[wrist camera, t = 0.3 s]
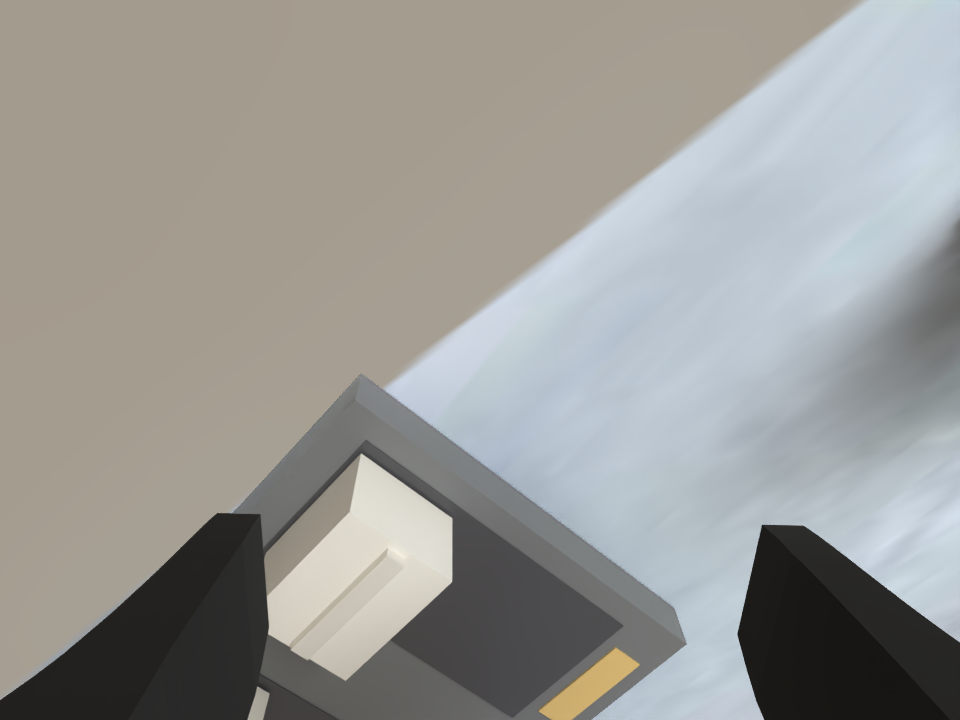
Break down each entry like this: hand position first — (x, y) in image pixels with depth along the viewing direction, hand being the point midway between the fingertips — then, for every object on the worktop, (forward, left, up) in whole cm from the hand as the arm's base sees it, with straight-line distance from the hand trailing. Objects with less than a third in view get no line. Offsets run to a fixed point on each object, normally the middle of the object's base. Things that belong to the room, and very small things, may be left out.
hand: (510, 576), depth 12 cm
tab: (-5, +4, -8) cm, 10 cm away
